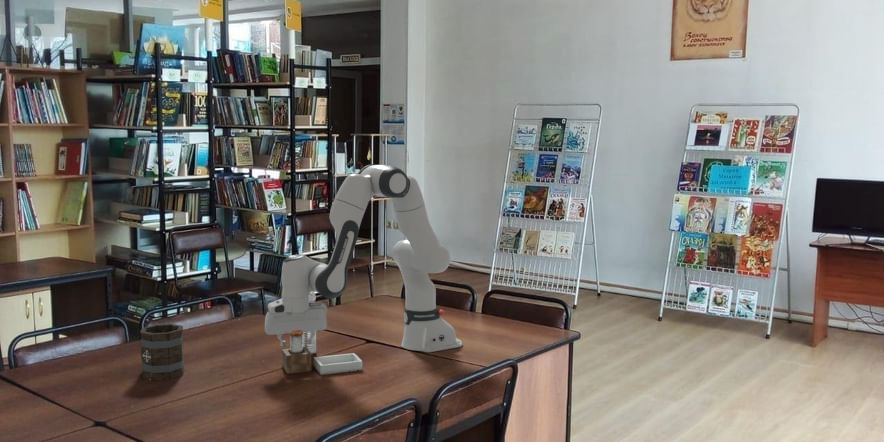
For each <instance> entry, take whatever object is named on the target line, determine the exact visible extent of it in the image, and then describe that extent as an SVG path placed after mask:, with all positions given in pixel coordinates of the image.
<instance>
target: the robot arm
mask: <svg viewBox="0 0 884 442" xmlns="http://www.w3.org/2000/svg"><path fill="white" fill-rule="evenodd" d="M375 196H376V197H378V198H389V199H391V201H392V206H393V210H394V214H395V220H396V223H397V226H398V230H399V232H400V233H401V234H402V235H403V236H404V237H405V238H406V239H402V240H399V241H397V242H396V243H395V244H394V246H393V248H392V252H391V253H392V254H391V255H392V256H391V257H392V260H393V261H394V263H395V264H396V265H397V266H398V268H399V270H400V273H401V276H402V280H403V283H404V288H405V289H404V291H405V292H404V294H405V307H404V312H403V320H404V321H403V322H404V331H403V335H402V341H401V344H400V347H401V348H403V349H405V350H409V351H417V352H418V351H419V352H424V353H433V352H437V351H438V352H439V351H444V350H449V349H456V348H461V347H462V346H463V342H462V340H460V339H459V338H457V334H456V330H455V329H454V326H453V325H451V324H450V323H448V322H447V321H446V320H445V319H443V318H442V317H441V316H445V315H446V314H445V313H446V311H445V310H443V309H440V308H438V307H437V305H436V301H437V300H436V298H437V297H436V296H437V293H436V291H437V289H436V286H435V284H434V282H433V281H432V280H431V279H430V276H429V274H438V273H439V274H441V273H444V272H445V271H446V270H447V269H448V267H449V266H450V263H451V253H450V251H449V249H448V248H447V247H445V246H444V245H443V244H442V242H441V241H440V240H439V238H438V237H437V235H436V233H435V231H434V230H433V228H432V225H431V224H430V221H429V217H428V213H427V209H426V205H425V204H426V203H425V200H424V196H423V193H422V191H421V188H420V185H419V183H418V181H417V179H416V178H415V177H413V176H411V175H407V174H406V173H405V172H404V170H402V169H401V168H399V167H397V166H391V165H388V164H368V165H365V166H363V167H362V168H361V169H360V170H359V171H358V172H357V173H351V174H349V175H348V176H346V177H345V179H344V180H343V182H342V184H341V185H340V187H339V189H338V191H337V192H336V195H335V197H334V200H333V202H332V203H331V207H330V212H329V222H330V224H331V226H332V227H333V229H334V231H335V234H336V241H335V244H334V248H333V251H332V254H331V257H330V260H329V262H328V264H326V263H324V262H320V261H317V260H314V259H312V258H310V257H308V256H307V255H306V254H302V253H299V254H293V255H290V256H287V257H286V258H285V259H284V260H283V262H282V267H281V285H282V286H281V287H282V293H281V298H279V299H277V300H273V301H272V302H269V303H268V304H267V308H268V311H267V313H266V314H265V319H264V332H265V334H266V335H268V336H274V335H276V337H277V339H278V340H279V341H280V347H281V348H283V347H287V344H286V342H287V341H286V340H284V339H282V337H283V334H284V335H285V334H289V333H292V331H298V330H302V332H307V331H310V333H311V335H310V337H309V338H307V344H312V339H313V337H314V336H315V331H316V332H317V331H325V330H326V329H327V326H328V321H327V315H326V314H327V313H328V306H327V305H326V303H324V302H321V301H319V302H315V303H309V292H310V291H313V292H316V293H318V294H319V295H321V296H322V297H324V298H326V299H328V300H329V299H336V298H338V297H340V296H341V295H343V293H344V292H345V290H346V289H347V286H348V274H349V273H348V271H349V267H350V264H351V260H352V259H353V258H352V257H353V254H354V251H355V247H356V244H357V242H358V237H359V232H360V226H361V224H362V220H363V217H364V214H365V213H366V209H367V207H368V205H369V202H370V200H371V199H372V198H373V197H375Z"/></svg>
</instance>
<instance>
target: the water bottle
mask: <svg viewBox="0 0 884 442" xmlns="http://www.w3.org/2000/svg"><path fill="white" fill-rule="evenodd" d="M309 303H316V293H315V291H310V292H309ZM303 333H304V334H302V347H306V348H307V349H308V350H309V351H310V353H311V356H312V355H315V354H316V352H317V331H315V336H314V337H313V339H312V344H307V338H309V337H310V335H311V333H310V331H307V332H303Z"/></svg>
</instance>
